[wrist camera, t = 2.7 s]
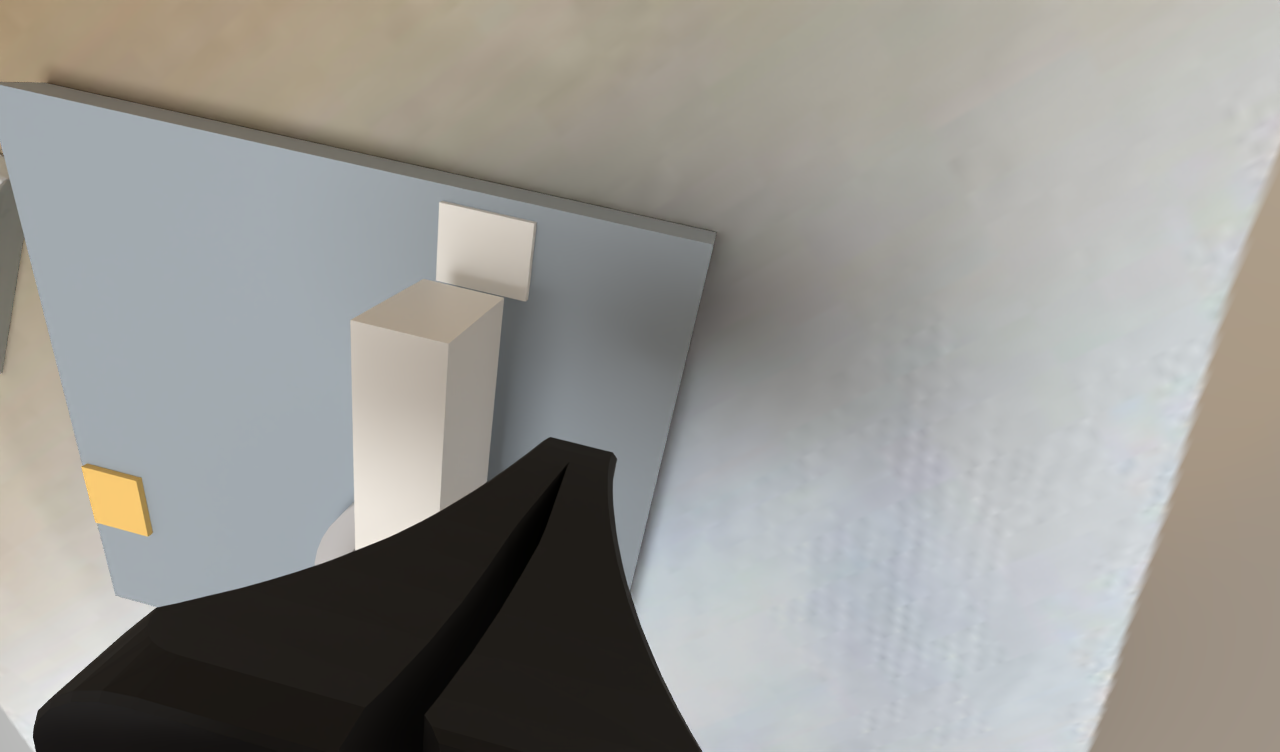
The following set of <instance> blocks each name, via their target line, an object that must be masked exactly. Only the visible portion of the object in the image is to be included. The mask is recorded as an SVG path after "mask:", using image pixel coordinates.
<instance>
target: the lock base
mask: <svg viewBox="0 0 1280 752" xmlns="http://www.w3.org/2000/svg"><path fill="white" fill-rule="evenodd" d="M0 143H1V147H2V151H3V155H4V159H5V163H6V166H7V170H8V174H9V178H10V182H11V186H12V190H13V194H14V198H15V202H16V206H17V210H18V214H19V218H20V222H21V225H22V229H23V233H24V237H25V241H26V245H27V249H28V253H29V257H30V261H31V265H32V269H33V273H34V277H35V281H36V284H37V288H38V292H39V296H40V300H41V304H42V308H43V312H44V316H45V320H46V324H47V328H48V332H49V336H50V340H51V343H52V347H53V351H54V355H55V359H56V363H57V367H58V371H59V375H60V379H61V383H62V387H63V391H64V395H65V398H66V402H67V406H68V410H69V414H70V418H71V422H72V426H73V430H74V434H75V438H76V442H77V446H78V450H79V454H80V457H81V461H82V465H83V466H82V471H83V475H84V479H85V483H86V487H87V491H88V495H89V499H90V503H91V507H92V510H93V514H94V518H95V522H96V523H97V524H98V528H99V532H100V536H101V540H102V544H103V548H104V552H105V556H106V560H107V564H108V568H109V572H110V575H111V579H112V583H113V587H114V591H115V595H116V596H119V597H122V598H126V599H130V600H133V601H137V602H140V603H144V604H148V605H151V606H155V607H161V606H166V605H171V604H176V603H180V602H184V601H188V600H192V599H197V598H201V597H205V596H209V595H213V594H218V593H222V592H226V591H230V590H234V589H239V588H243V587H246V586H250V585H254V584H257V583H261V582H264V581H268V580H271V579H274V578H278V577H281V576H284V575H288V574H291V573H294V572H297V571H300V570H304V569H307V568H310V567H313V566H316V565H319V564H322V563H324V562H327V561H330V560H333V559H335V558H338V557H340V556H343V555H345V554H348V553H351V552H352V551H353V550H354V549H355V515H354V468H353V422H352V376H351V330H350V320H351V319H353V318H355V317H357V316H358V315H360V314H362V313H364V312H365V311H367V310H369V309H371V308H373V307H374V306H376V305H378V304H380V303H381V302H383V301H385V300H387V299H389V298H390V297H392V296H394V295H396V294H397V293H399V292H401V291H403V290H405V289H406V288H408V287H410V286H412V285H413V284H415V283H417V282H419V281H421V280H422V279H426V280H431V281H435V282H439V283H443V284H448V285H452V286H456V287H460V288H465V289H469V290H473V291H477V292H482V293H486V294H490V295H495V296H499V297H503V298H504V305H503V315H502V326H501V337H500V347H499V358H498V368H497V379H496V390H495V400H494V411H493V422H492V432H491V443H490V453H489V464H488V475H487V482H488V481H489V480H491V479H492V478H493V477H495V476H496V475H498V474H499V473H501V472H502V471H504V470H505V469H507V468H508V467H509V466H511V465H512V464H513V463H515V462H516V461H517V460H519V459H520V458H521V457H523V456H524V455H525V454H527V453H528V452H529V451H531V450H532V449H533V448H535V447H536V446H537V445H538V444H540V443H541V442H542V441H544V440H546V439H547V438H549V437H553V438H557V439H561V440H565V441H569V442H573V443H577V444H581V445H585V446H589V447H593V448H597V449H601V450H605V451H610V452H613V453H614V455H615V456H616V458H617V463H616V468H615V473H614V478H613V506H614V515H615V524H616V532H617V538H618V544H619V549H620V554H621V559H622V564H623V568H624V572H625V576H626V580H627V584H628V587H629V591H630V589H631V585H632V581H633V577H634V573H635V568H636V564H637V560H638V556H639V552H640V548H641V544H642V540H643V535H644V531H645V527H646V523H647V519H648V515H649V511H650V506H651V502H652V498H653V494H654V490H655V486H656V482H657V478H658V473H659V469H660V465H661V461H662V457H663V453H664V449H665V444H666V440H667V436H668V432H669V428H670V424H671V420H672V416H673V411H674V407H675V403H676V399H677V395H678V391H679V387H680V382H681V378H682V374H683V370H684V366H685V362H686V358H687V354H688V349H689V345H690V341H691V337H692V333H693V329H694V325H695V320H696V316H697V312H698V308H699V304H700V300H701V296H702V292H703V287H704V283H705V279H706V275H707V271H708V267H709V263H710V258H711V254H712V250H713V246H714V242H715V237H716V232H713V231H708V230H704V229H699V228H695V227H690V226H686V225H681V224H677V223H672V222H668V221H663V220H659V219H654V218H650V217H645V216H641V215H636V214H632V213H627V212H623V211H618V210H614V209H609V208H605V207H601V206H596V205H592V204H587V203H583V202H578V201H574V200H569V199H565V198H560V197H556V196H551V195H547V194H542V193H538V192H533V191H529V190H524V189H520V188H515V187H511V186H506V185H502V184H497V183H493V182H488V181H484V180H479V179H475V178H470V177H466V176H461V175H457V174H452V173H448V172H443V171H439V170H434V169H430V168H426V167H421V166H417V165H412V164H408V163H403V162H399V161H394V160H390V159H385V158H381V157H376V156H372V155H367V154H363V153H358V152H354V151H349V150H345V149H340V148H336V147H331V146H327V145H322V144H318V143H313V142H309V141H304V140H300V139H295V138H291V137H286V136H282V135H277V134H273V133H268V132H264V131H259V130H255V129H250V128H246V127H242V126H237V125H233V124H228V123H224V122H219V121H215V120H210V119H206V118H201V117H197V116H192V115H188V114H183V113H179V112H174V111H170V110H165V109H161V108H156V107H152V106H147V105H143V104H138V103H134V102H129V101H125V100H120V99H116V98H111V97H107V96H102V95H98V94H93V93H89V92H84V91H80V90H75V89H71V88H66V87H62V86H58V85H53V84H49V83H32V82H0Z"/></svg>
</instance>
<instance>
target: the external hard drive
mask: <svg viewBox="0 0 1280 752" xmlns="http://www.w3.org/2000/svg"><path fill="white" fill-rule="evenodd" d="M23 238H24V233H23V229H22V225H21V222H20V218H19V214H18V210H17V206H16V202H15V198H14V194H13V190H12V186H11V182H10V178H9V174H8V170H7V166H6V163H5V159H4V157H3V156H2V155H0V374H1V373H2V372H3V365H4V359H5V353H6V346H7V339H8V333H9V327H10V320H11V314H12V308H13V301H14V295H15V289H16V283H17V276H18V270H19V263H20V257H21V251H22V245H23Z"/></svg>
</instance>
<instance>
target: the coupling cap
mask: <svg viewBox="0 0 1280 752" xmlns="http://www.w3.org/2000/svg"><path fill="white" fill-rule="evenodd" d="M503 305H504V298H503V297H499V296H495V295H490V294H486V293H482V292H477V291H473V290H469V289H465V288H460V287H456V286H452V285H448V284H443V283H439V282H435V281H431V280H426V279H422V280H421V281H419V282H417V283H415V284H413V285H412V286H410V287H408V288H406V289H405V290H403V291H401V292H399V293H397V294H396V295H394V296H392V297H390V298H389V299H387V300H385V301H383V302H381V303H380V304H378V305H376V306H374V307H373V308H371V309H369V310H367V311H365V312H364V313H362V314H360V315H358V316H357V317H355V318H353V319H351V320H350V330H351V376H352V422H353V468H354V515H355V549H354V550H353V551H356V550H358V549H361V548H363V547H366V546H368V545H371V544H373V543H376V542H378V541H381V540H383V539H386V538H388V537H390V536H392V535H395V534H397V533H399V532H401V531H403V530H405V529H407V528H409V527H411V526H413V525H415V524H417V523H419V522H421V521H423V520H425V519H427V518H428V517H430V516H432V515H434V514H436V513H438V512H439V511H441V510H443V509H444V508H446V507H448V506H449V505H451V504H453V503H454V502H456V501H458V500H459V499H461V498H463V497H464V496H466V495H468V494H469V493H471V492H473V491H474V490H476V489H477V488H479V487H480V486H482V485H483V484H485V483H486V482H487V475H488V464H489V453H490V443H491V432H492V422H493V411H494V400H495V390H496V379H497V368H498V358H499V347H500V337H501V326H502V315H503ZM353 551H352V552H353Z"/></svg>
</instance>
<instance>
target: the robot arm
mask: <svg viewBox="0 0 1280 752" xmlns="http://www.w3.org/2000/svg"><path fill="white" fill-rule="evenodd" d="M616 463H617V458H616V456H615V455H614V453H613V452H610V451H605V450H601V449H597V448H593V447H589V446H585V445H581V444H577V443H573V442H569V441H565V440H561V439H557V438H553V437H549V438H547V439H546V440H544V441H542V442H541V443H540V444H538V445H537V446H536V447H535V448H533V449H532V450H531V451H529V452H528V453H527V454H525V455H524V456H523V457H521V458H520V459H519V460H517V461H516V462H515V463H513V464H512V465H511V466H509V467H508V468H507V469H505V470H504V471H502V472H501V473H499V474H498V475H496V476H495V477H493V478H492V479H491V480H489V481H488V482H486V483H485V484H483V485H482V486H480V487H479V488H477V489H476V490H474V491H473V492H471V493H469V494H468V495H466V496H464V497H463V498H461V499H459V500H458V501H456V502H454V503H453V504H451V505H449V506H448V507H446V508H444V509H443V510H441V511H439V512H438V513H436V514H434V515H432V516H430V517H428V518H427V519H425V520H423V521H421V522H419V523H417V524H415V525H413V526H411V527H409V528H407V529H405V530H403V531H401V532H399V533H397V534H395V535H392V536H390V537H388V538H386V539H383V540H381V541H378V542H376V543H373V544H371V545H368V546H366V547H363V548H361V549H358V550H356V551H353V552H351V553H348V554H345V555H343V556H340V557H338V558H335V559H333V560H330V561H327V562H324V563H322V564H319V565H316V566H313V567H310V568H307V569H304V570H300V571H297V572H294V573H291V574H288V575H284V576H281V577H278V578H274V579H271V580H268V581H264V582H261V583H257V584H254V585H250V586H246V587H243V588H239V589H234V590H230V591H226V592H222V593H218V594H213V595H209V596H205V597H201V598H197V599H192V600H188V601H184V602H180V603H176V604H171V605H166V606H161V607H157V608H155V609H154V610H153V611H152V612H150V613H149V614H148V615H147V616H145V617H144V618H143V619H142V620H140V621H139V622H138V623H137V624H135V625H134V626H133V627H132V628H130V629H129V630H128V631H127V632H126V633H124V634H123V635H122V636H121V637H120V638H119V639H117V640H116V641H115V642H114V643H113V644H112V645H111V646H109V647H108V648H107V649H106V650H105V651H104V652H103V653H102V654H100V655H99V656H98V657H97V658H96V659H95V660H94V661H92V662H91V663H90V664H89V665H88V666H87V667H86V668H85V669H83V670H82V671H81V672H80V673H79V674H78V675H77V676H75V677H74V678H73V679H72V680H71V681H70V682H69V683H68V684H66V685H65V686H64V687H63V688H62V689H61V690H60V691H58V692H57V693H56V694H55V695H54V696H53V697H52V698H51V699H50V700H48V701H47V702H46V703H45V704H44V705H43V706H42V707H41V708H40V709H39V710H38V713H37V717H36V721H35V725H34V730H33V740H34V744H35V749H36V752H702V750H701V748H700V747H699V745H698V743H697V742H696V740H695V738H694V737H693V735H692V733H691V731H690V730H689V728H688V726H687V724H686V722H685V721H684V719H683V717H682V715H681V713H680V711H679V710H678V708H677V706H676V704H675V702H674V700H673V698H672V696H671V694H670V692H669V690H668V688H667V686H666V684H665V682H664V680H663V678H662V675H661V673H660V671H659V668H658V666H657V664H656V661H655V659H654V656H653V654H652V652H651V649H650V647H649V645H648V642H647V640H646V637H645V635H644V633H643V630H642V628H641V625H640V622H639V619H638V616H637V613H636V610H635V607H634V604H633V601H632V598H631V594H630V591H629V587H628V584H627V580H626V576H625V572H624V568H623V564H622V559H621V554H620V549H619V544H618V538H617V532H616V524H615V515H614V506H613V478H614V473H615V468H616Z"/></svg>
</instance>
